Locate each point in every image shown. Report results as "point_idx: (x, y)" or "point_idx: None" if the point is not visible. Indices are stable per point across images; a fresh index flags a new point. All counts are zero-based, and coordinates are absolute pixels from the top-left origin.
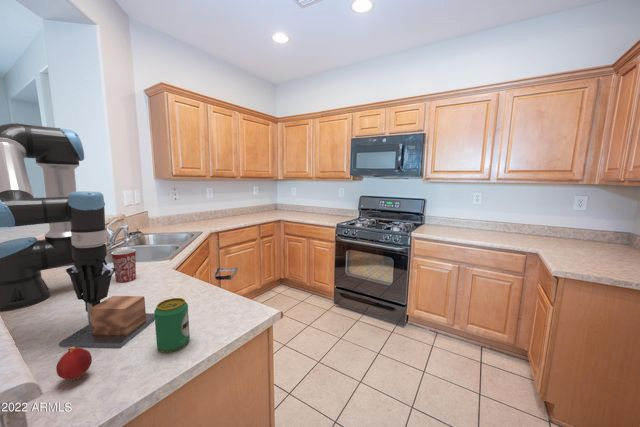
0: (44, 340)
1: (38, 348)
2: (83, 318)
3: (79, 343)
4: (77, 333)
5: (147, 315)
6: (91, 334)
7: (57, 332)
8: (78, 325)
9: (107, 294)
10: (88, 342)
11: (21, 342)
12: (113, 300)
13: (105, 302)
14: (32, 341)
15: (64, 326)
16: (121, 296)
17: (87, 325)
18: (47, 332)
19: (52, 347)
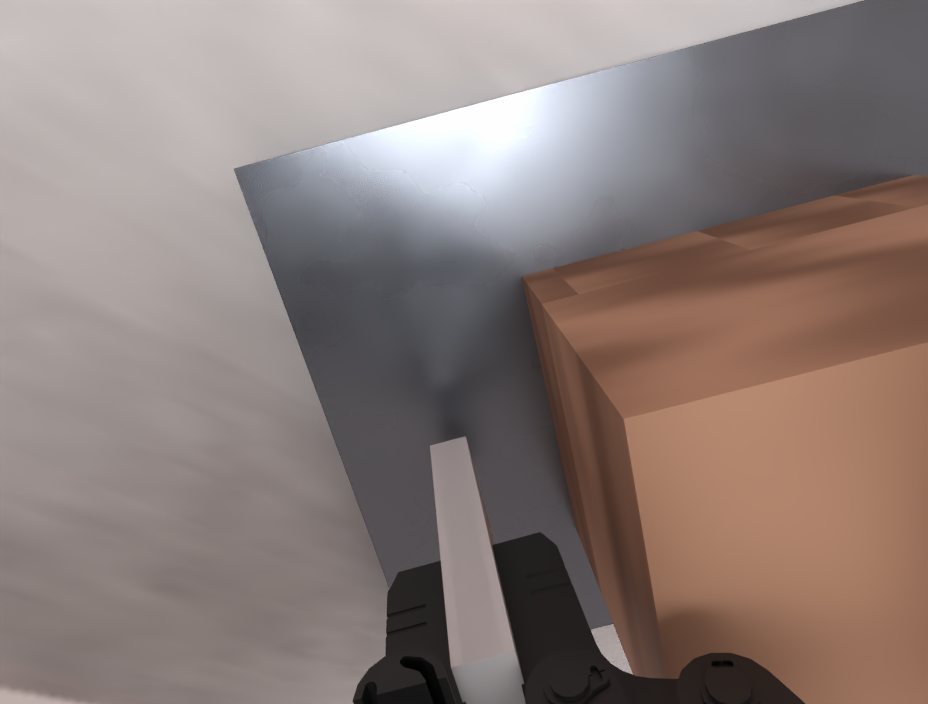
0: (193, 633)
1: (291, 691)
2: (17, 297)
3: (591, 625)
4: (415, 559)
5: (850, 68)
6: (565, 535)
7: (133, 542)
8: (164, 412)
9: (799, 700)
10: None
11: (52, 695)
12: (844, 561)
13: (760, 651)
14: (117, 665)
15: (49, 464)
16: (862, 387)
17: (342, 449)
18: (42, 567)
19: (378, 658)
